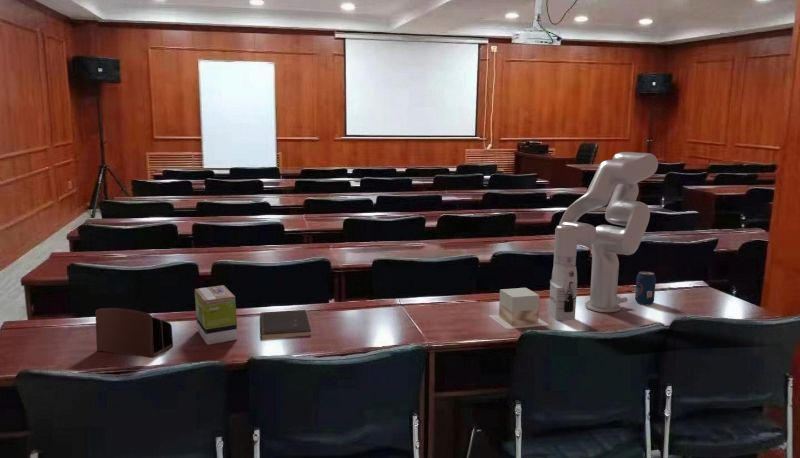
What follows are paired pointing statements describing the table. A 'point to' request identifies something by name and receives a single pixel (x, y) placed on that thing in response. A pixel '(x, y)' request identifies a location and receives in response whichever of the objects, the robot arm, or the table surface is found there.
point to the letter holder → (131, 332)
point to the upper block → (519, 299)
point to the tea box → (216, 314)
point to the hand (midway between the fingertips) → (562, 308)
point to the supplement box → (559, 303)
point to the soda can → (645, 287)
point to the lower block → (518, 316)
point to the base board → (508, 326)
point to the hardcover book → (284, 324)
